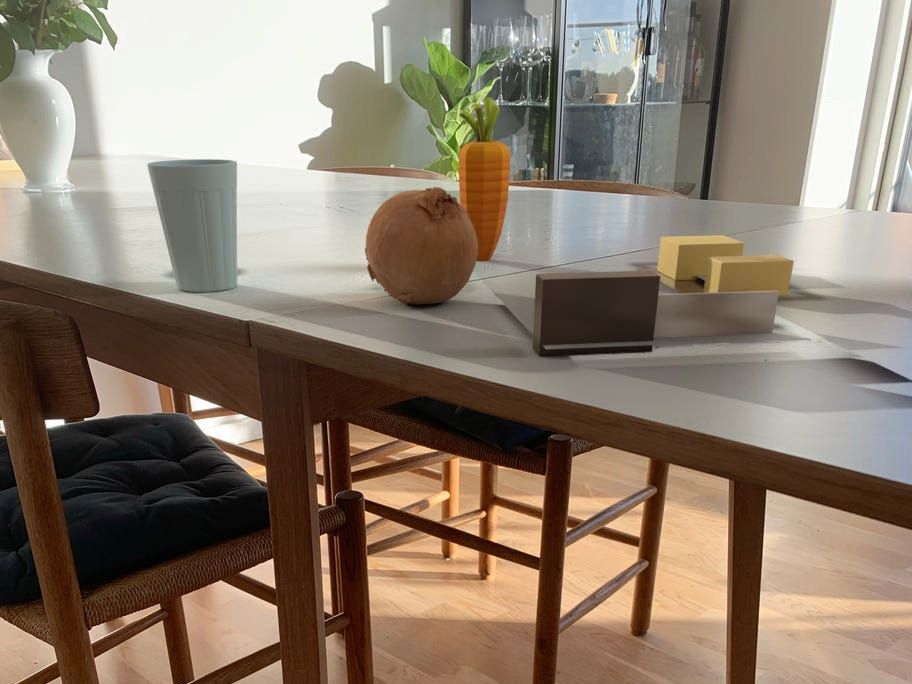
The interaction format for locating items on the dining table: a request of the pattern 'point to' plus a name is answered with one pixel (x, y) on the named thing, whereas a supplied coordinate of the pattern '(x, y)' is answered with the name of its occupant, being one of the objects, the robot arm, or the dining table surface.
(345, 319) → the dining table surface
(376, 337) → the dining table surface
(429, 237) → the onion
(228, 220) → the cup
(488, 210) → the carrot
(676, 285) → the butter board
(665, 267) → the butter block
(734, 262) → the butter slice
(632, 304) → the knife
